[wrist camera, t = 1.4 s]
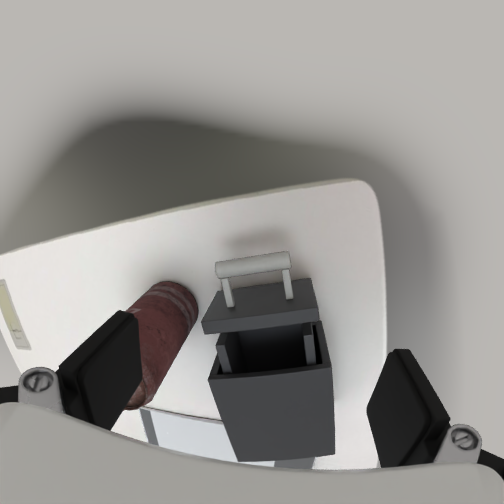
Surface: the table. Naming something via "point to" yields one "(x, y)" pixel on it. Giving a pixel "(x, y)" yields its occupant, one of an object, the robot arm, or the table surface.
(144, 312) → the can
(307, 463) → the white grey flat panel
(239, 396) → the dark grey cabinet
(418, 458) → the robot arm
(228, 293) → the drawer
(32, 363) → the table surface
